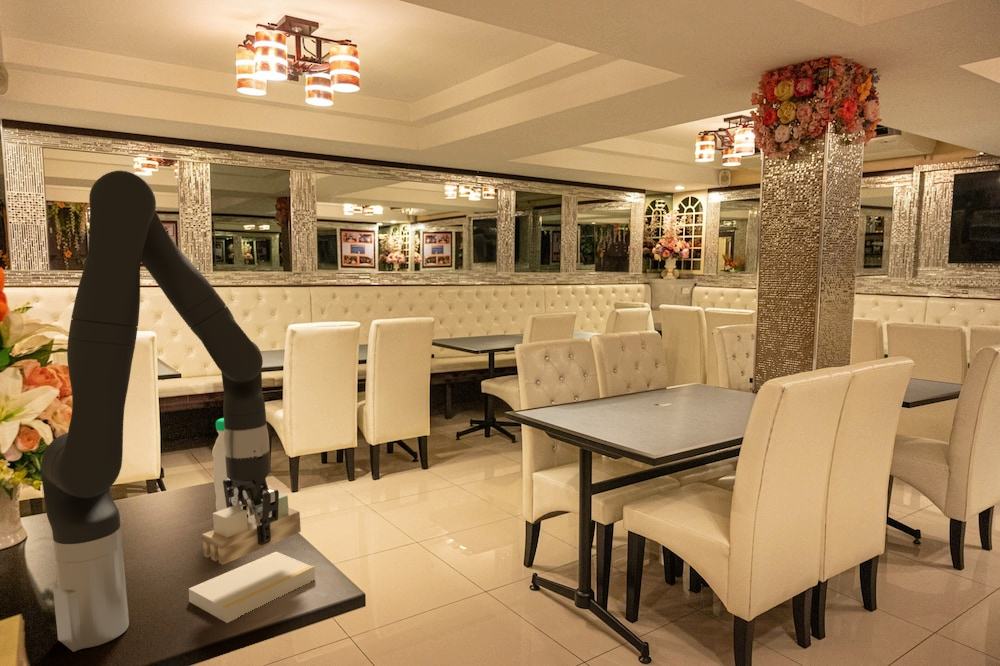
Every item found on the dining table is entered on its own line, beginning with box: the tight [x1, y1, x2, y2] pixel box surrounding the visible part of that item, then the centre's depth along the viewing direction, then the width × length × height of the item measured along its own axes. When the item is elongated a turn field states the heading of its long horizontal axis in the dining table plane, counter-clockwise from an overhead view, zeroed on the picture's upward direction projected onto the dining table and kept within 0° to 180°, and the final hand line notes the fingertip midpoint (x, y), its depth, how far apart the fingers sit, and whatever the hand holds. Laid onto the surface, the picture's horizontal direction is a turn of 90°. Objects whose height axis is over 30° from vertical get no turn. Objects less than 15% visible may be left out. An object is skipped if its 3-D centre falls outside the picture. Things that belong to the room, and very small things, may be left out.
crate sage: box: [256, 492, 289, 517], centre depth 123 cm, size 4×4×4 cm
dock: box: [188, 551, 316, 624], centre depth 121 cm, size 18×12×3 cm, turn 144°
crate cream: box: [212, 506, 248, 537], centre depth 116 cm, size 4×4×4 cm
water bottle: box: [211, 417, 251, 517], centre depth 150 cm, size 7×7×25 cm
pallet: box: [201, 507, 302, 565], centre depth 120 cm, size 16×6×4 cm, turn 144°
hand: (253, 538), depth 120 cm, fingers closed on pallet, 6 cm apart
